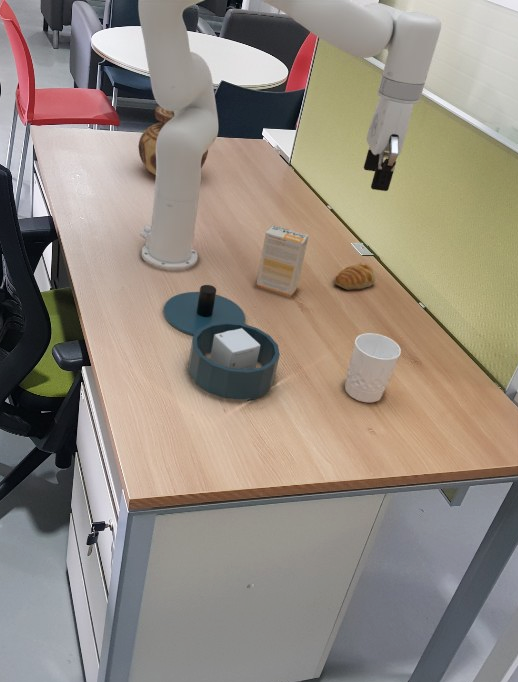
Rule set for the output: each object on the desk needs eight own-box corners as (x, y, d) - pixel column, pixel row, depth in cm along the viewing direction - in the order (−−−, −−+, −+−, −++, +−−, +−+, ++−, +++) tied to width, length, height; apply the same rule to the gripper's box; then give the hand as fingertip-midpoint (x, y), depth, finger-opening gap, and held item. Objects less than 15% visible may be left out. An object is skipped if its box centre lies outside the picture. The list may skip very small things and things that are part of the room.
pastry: (349, 295, 162) (353, 280, 160) (326, 281, 166) (329, 266, 164) (376, 285, 168) (380, 270, 165) (353, 272, 172) (357, 257, 169)
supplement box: (297, 289, 162) (310, 234, 155) (290, 298, 158) (303, 243, 151) (262, 278, 164) (273, 223, 157) (254, 287, 161) (265, 231, 153)
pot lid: (146, 312, 148) (149, 283, 144) (202, 288, 158) (206, 260, 154) (205, 350, 139) (210, 320, 135) (260, 323, 149) (266, 294, 145)
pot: (170, 369, 133) (174, 340, 129) (227, 341, 142) (232, 313, 139) (234, 413, 125) (240, 383, 121) (289, 380, 134) (296, 351, 131)
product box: (225, 386, 130) (232, 352, 126) (207, 367, 134) (213, 333, 130) (254, 379, 133) (261, 345, 129) (235, 360, 137) (241, 326, 133)
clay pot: (215, 181, 199) (195, 109, 188) (148, 199, 202) (125, 129, 191) (213, 155, 214) (194, 87, 203) (151, 172, 218) (129, 106, 206)
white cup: (387, 385, 136) (402, 340, 131) (382, 410, 130) (398, 364, 124) (344, 373, 138) (358, 328, 132) (338, 397, 132) (352, 351, 126)
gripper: (372, 73, 140) (350, 161, 150) (387, 100, 126) (361, 194, 136) (412, 78, 140) (387, 166, 150) (431, 106, 126) (402, 200, 136)
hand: (375, 179), depth 143 cm, fingers open, 9 cm apart
